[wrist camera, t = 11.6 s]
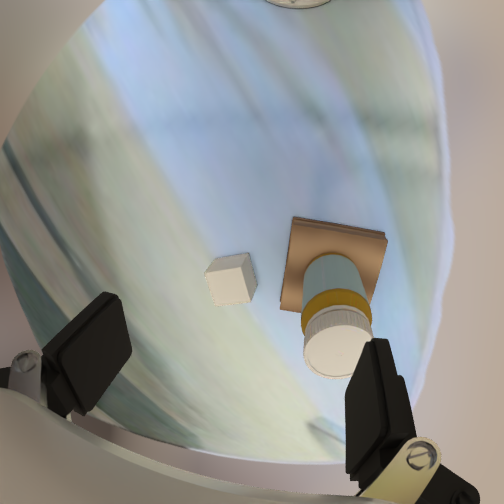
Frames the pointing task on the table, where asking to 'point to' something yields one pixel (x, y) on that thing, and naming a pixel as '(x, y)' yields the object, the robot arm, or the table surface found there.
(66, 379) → the robot arm
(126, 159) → the table surface
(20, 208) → the table surface
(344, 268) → the bottle
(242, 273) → the stone cube
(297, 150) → the table surface
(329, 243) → the plinth
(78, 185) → the table surface
